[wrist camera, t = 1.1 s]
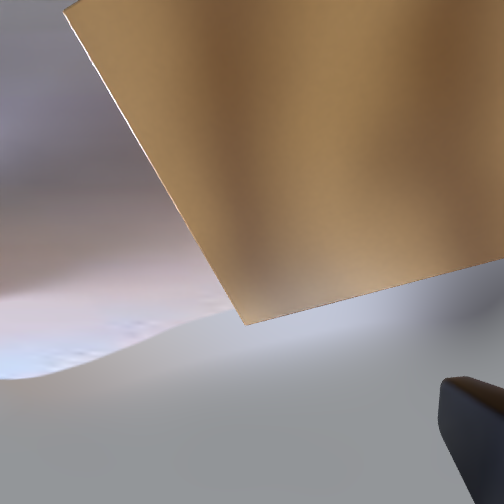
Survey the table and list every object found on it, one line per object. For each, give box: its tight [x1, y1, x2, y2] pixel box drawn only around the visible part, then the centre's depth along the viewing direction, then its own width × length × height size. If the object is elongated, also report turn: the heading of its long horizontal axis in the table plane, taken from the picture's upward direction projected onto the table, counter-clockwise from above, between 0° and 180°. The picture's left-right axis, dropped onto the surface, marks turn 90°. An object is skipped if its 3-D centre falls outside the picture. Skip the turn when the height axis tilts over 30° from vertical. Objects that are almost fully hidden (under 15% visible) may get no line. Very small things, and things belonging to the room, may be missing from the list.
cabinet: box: [63, 0, 504, 325], centre depth 15 cm, size 19×12×7 cm, turn 115°
